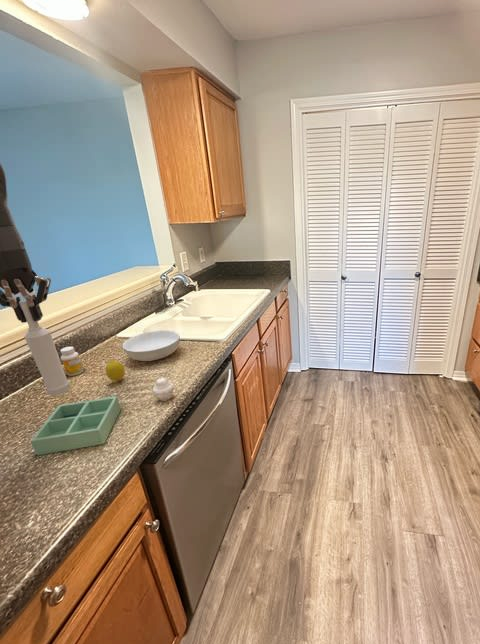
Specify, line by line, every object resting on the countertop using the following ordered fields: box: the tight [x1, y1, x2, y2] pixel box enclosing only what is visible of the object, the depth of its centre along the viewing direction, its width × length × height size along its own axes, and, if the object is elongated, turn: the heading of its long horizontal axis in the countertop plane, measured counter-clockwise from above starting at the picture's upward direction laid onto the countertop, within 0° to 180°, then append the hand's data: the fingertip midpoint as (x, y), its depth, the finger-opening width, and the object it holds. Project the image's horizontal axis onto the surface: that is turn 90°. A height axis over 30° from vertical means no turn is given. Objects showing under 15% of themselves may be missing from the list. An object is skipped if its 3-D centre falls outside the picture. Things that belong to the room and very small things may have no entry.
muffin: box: [152, 377, 175, 402], centre depth 99 cm, size 6×6×7 cm
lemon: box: [105, 360, 126, 382], centre depth 110 cm, size 6×6×8 cm
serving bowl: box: [122, 329, 181, 362], centre depth 128 cm, size 21×21×7 cm
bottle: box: [19, 299, 71, 397], centre depth 81 cm, size 5×5×25 cm
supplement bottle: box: [60, 346, 85, 377], centre depth 117 cm, size 5×5×10 cm
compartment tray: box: [29, 396, 122, 456], centre depth 87 cm, size 15×15×4 cm
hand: (31, 320), depth 78 cm, fingers closed on bottle, 2 cm apart
